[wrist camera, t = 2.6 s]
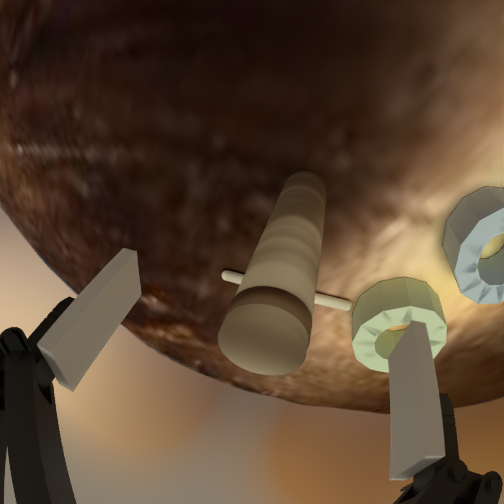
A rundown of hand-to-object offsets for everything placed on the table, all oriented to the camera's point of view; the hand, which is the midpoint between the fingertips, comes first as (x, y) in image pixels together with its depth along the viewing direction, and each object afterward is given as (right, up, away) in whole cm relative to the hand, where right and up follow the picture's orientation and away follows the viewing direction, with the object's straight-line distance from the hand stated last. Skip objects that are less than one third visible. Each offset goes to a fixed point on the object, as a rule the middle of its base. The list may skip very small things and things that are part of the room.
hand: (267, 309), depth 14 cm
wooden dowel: (+4, +7, +11) cm, 14 cm away
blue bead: (+20, +4, +8) cm, 22 cm away
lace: (+3, -1, +16) cm, 17 cm away
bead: (+14, -4, +15) cm, 21 cm away
